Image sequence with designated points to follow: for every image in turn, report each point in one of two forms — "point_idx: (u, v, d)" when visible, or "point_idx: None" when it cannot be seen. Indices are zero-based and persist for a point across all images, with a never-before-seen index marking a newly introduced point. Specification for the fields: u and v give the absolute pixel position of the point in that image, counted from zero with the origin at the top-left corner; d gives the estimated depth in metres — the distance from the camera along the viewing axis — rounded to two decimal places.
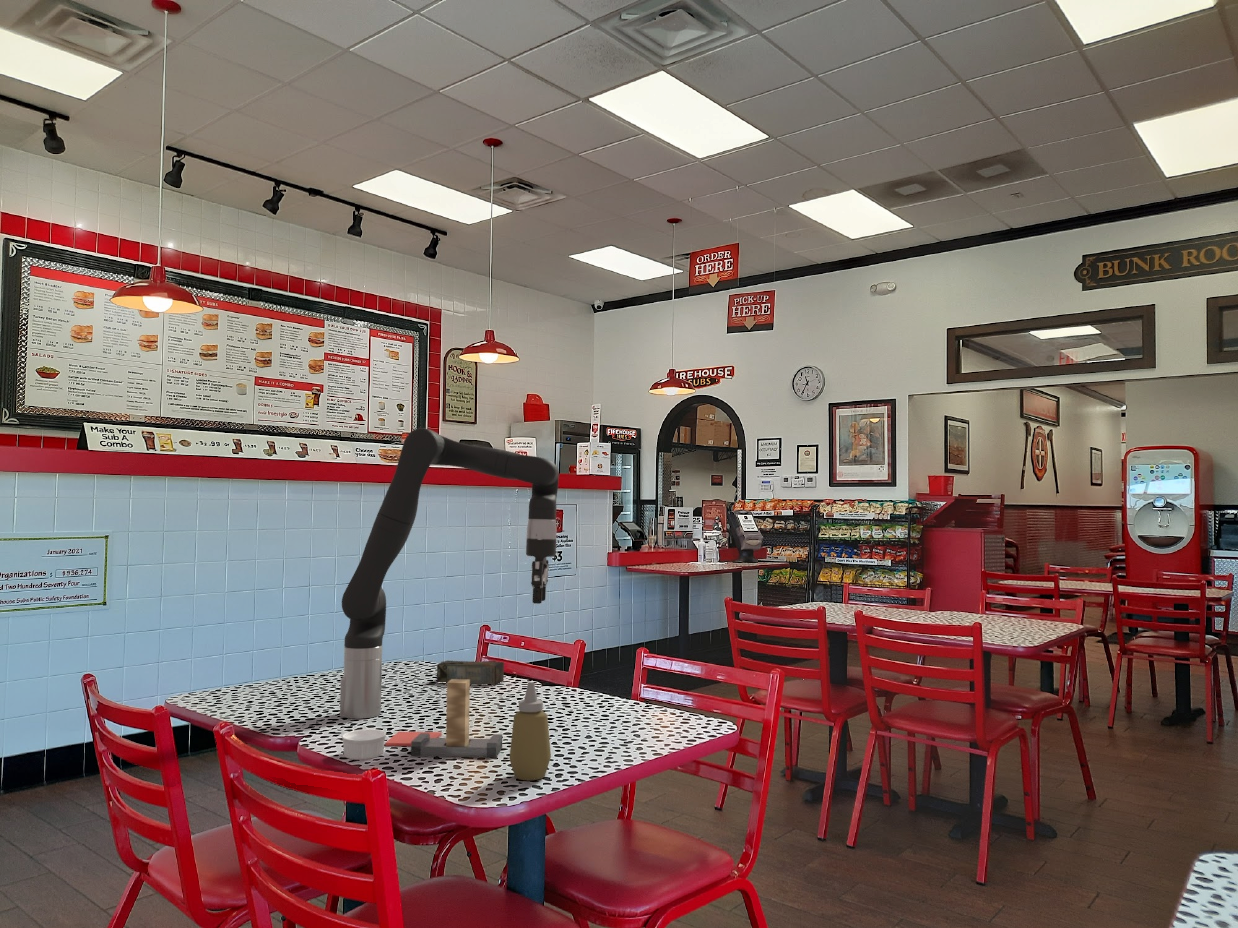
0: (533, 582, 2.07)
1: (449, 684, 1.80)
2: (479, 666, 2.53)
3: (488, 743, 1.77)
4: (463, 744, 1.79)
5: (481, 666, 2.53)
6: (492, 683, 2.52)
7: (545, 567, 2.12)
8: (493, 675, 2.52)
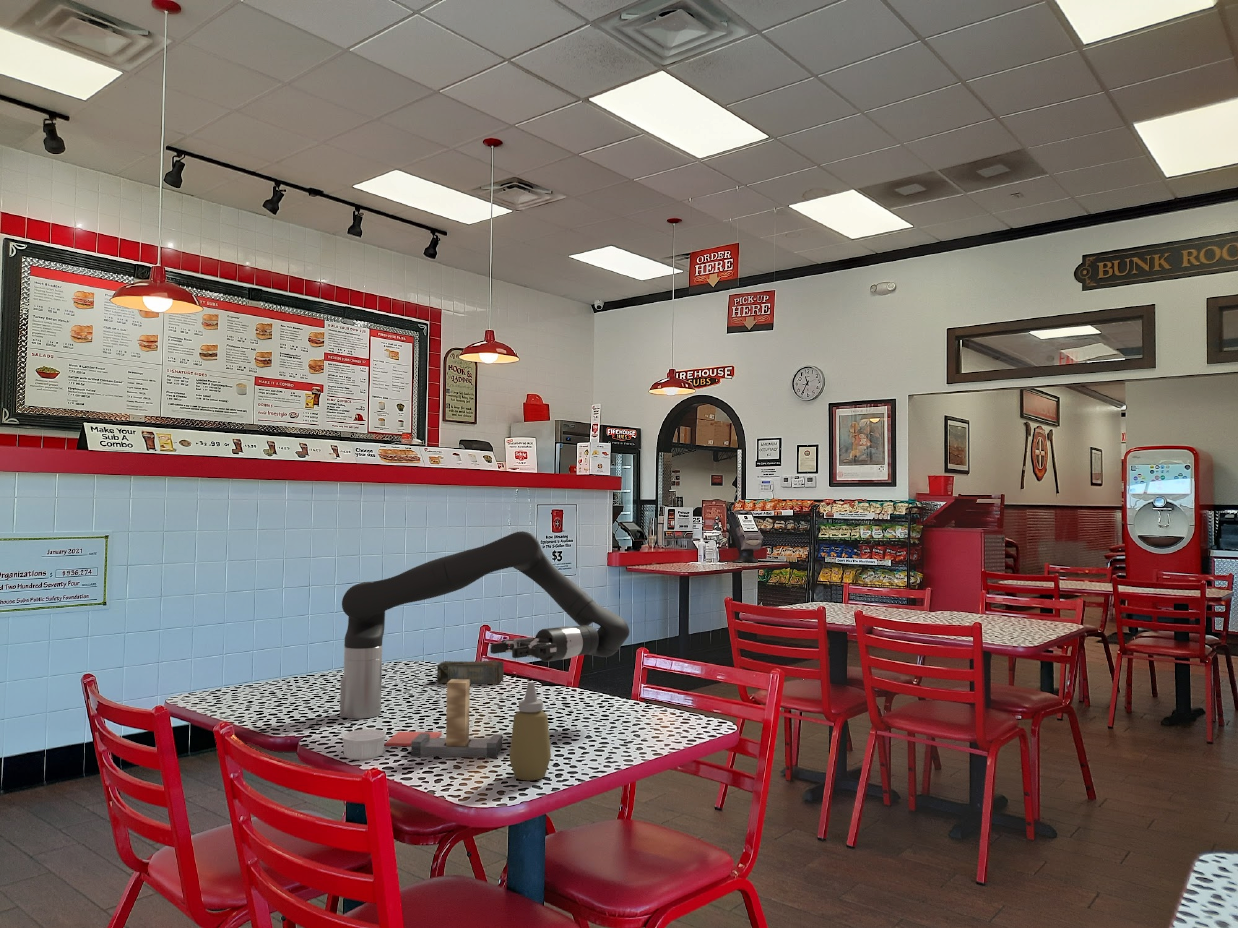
0: (539, 648, 1.88)
1: (449, 684, 1.80)
2: (481, 666, 2.54)
3: (488, 743, 1.77)
4: (463, 744, 1.79)
5: (483, 666, 2.54)
6: (495, 682, 2.53)
7: None
8: (496, 674, 2.53)
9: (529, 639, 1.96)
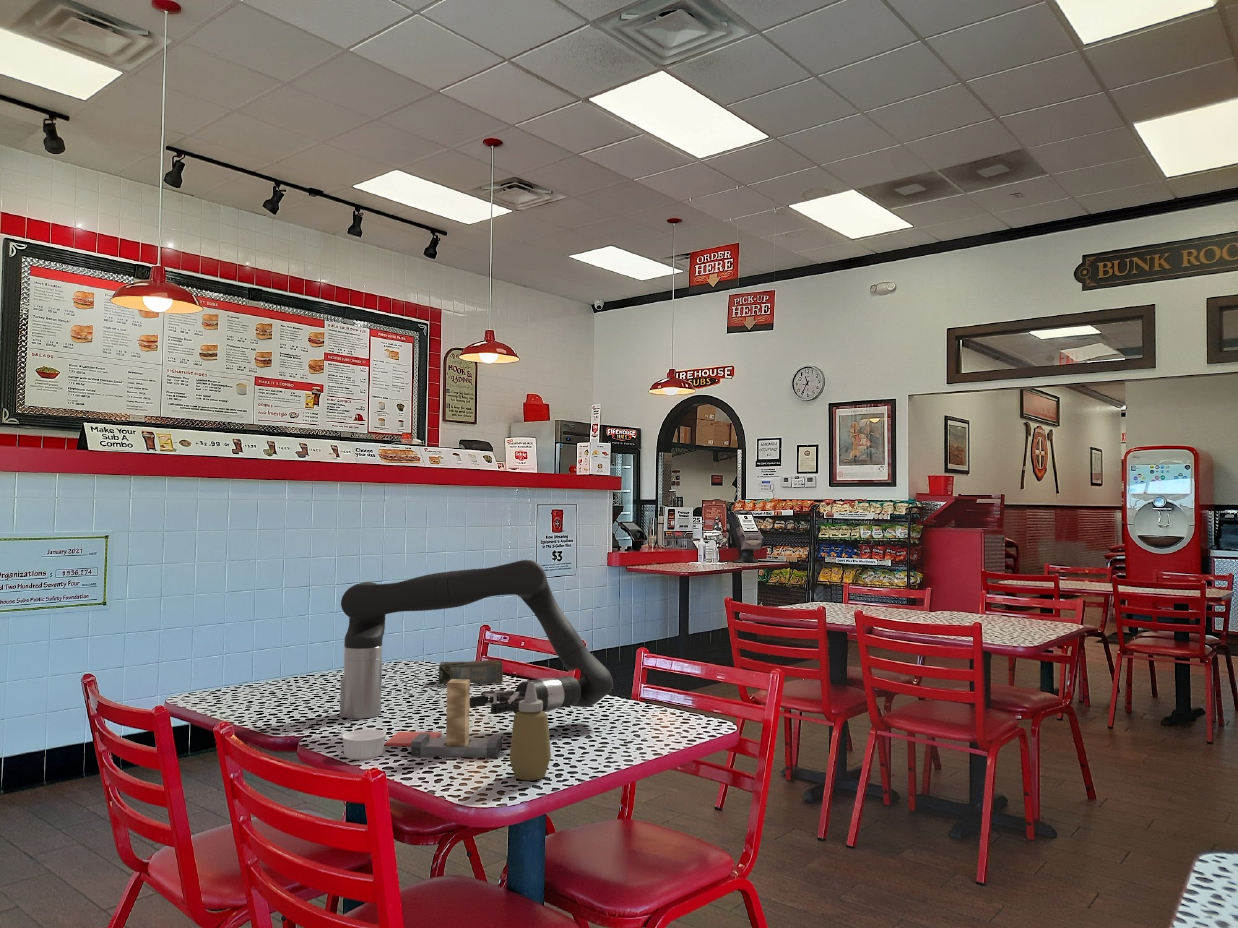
0: None
1: (449, 684, 1.80)
2: (484, 665, 2.55)
3: (488, 743, 1.77)
4: (463, 744, 1.79)
5: (486, 665, 2.55)
6: (498, 681, 2.55)
7: None
8: (499, 673, 2.55)
9: (509, 692, 1.92)
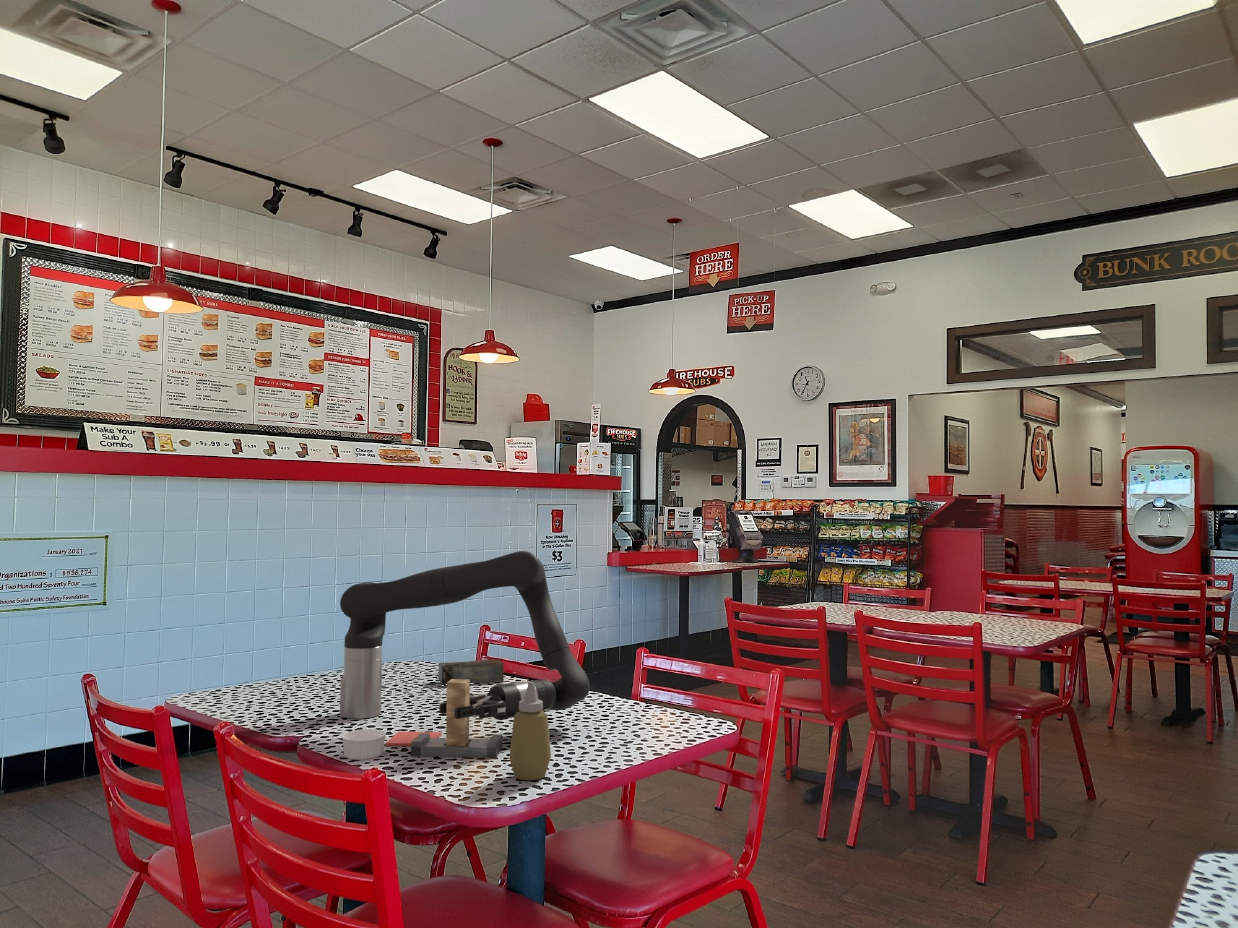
0: (483, 708, 1.79)
1: (449, 684, 1.80)
2: (487, 665, 2.56)
3: (488, 743, 1.77)
4: (463, 744, 1.79)
5: (489, 664, 2.56)
6: (500, 680, 2.57)
7: None
8: (501, 672, 2.57)
9: (481, 696, 1.87)
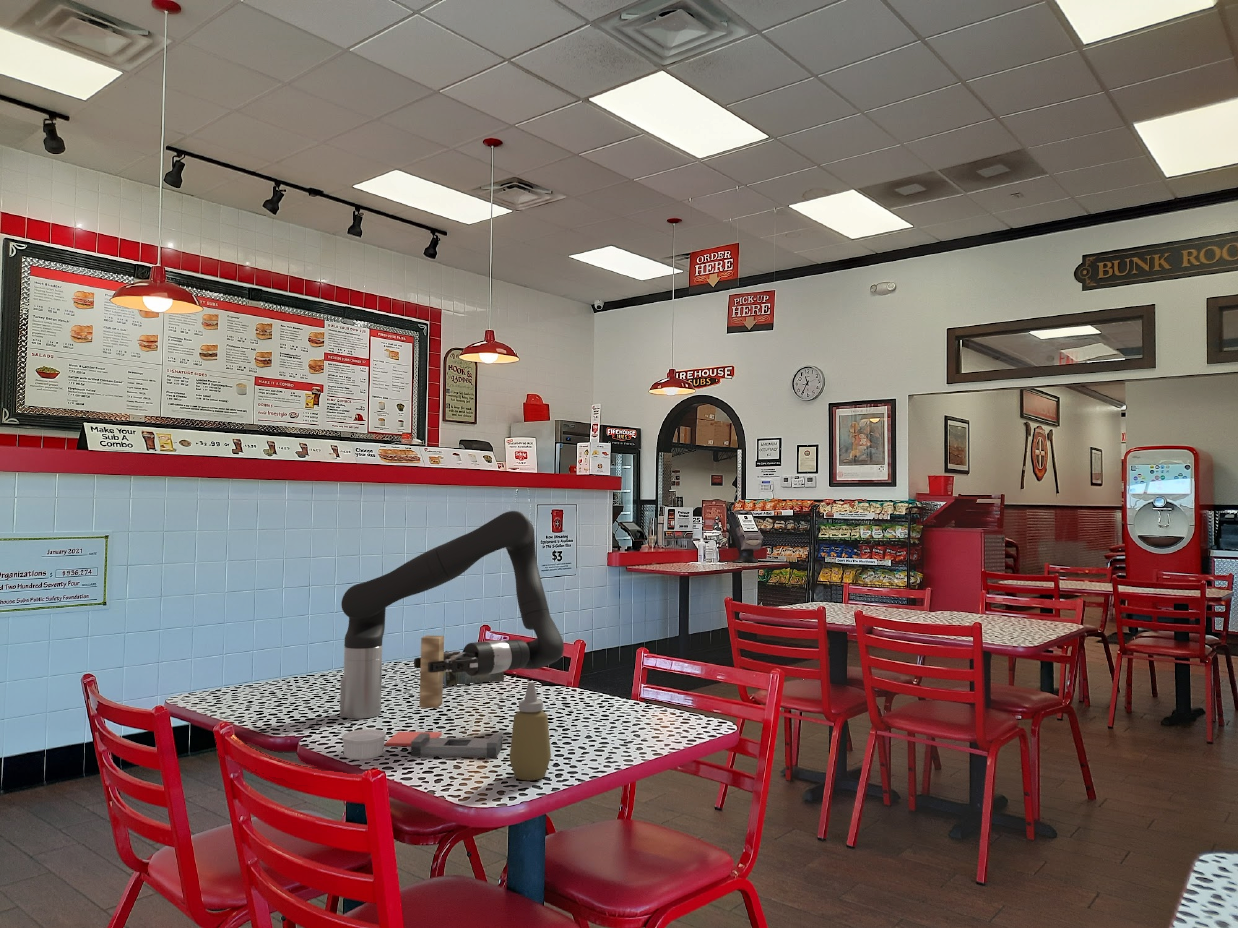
0: (456, 663, 1.84)
1: (423, 639, 1.85)
2: None
3: (488, 743, 1.77)
4: (436, 697, 1.85)
5: None
6: (501, 679, 2.59)
7: None
8: (502, 671, 2.59)
9: (456, 653, 1.92)
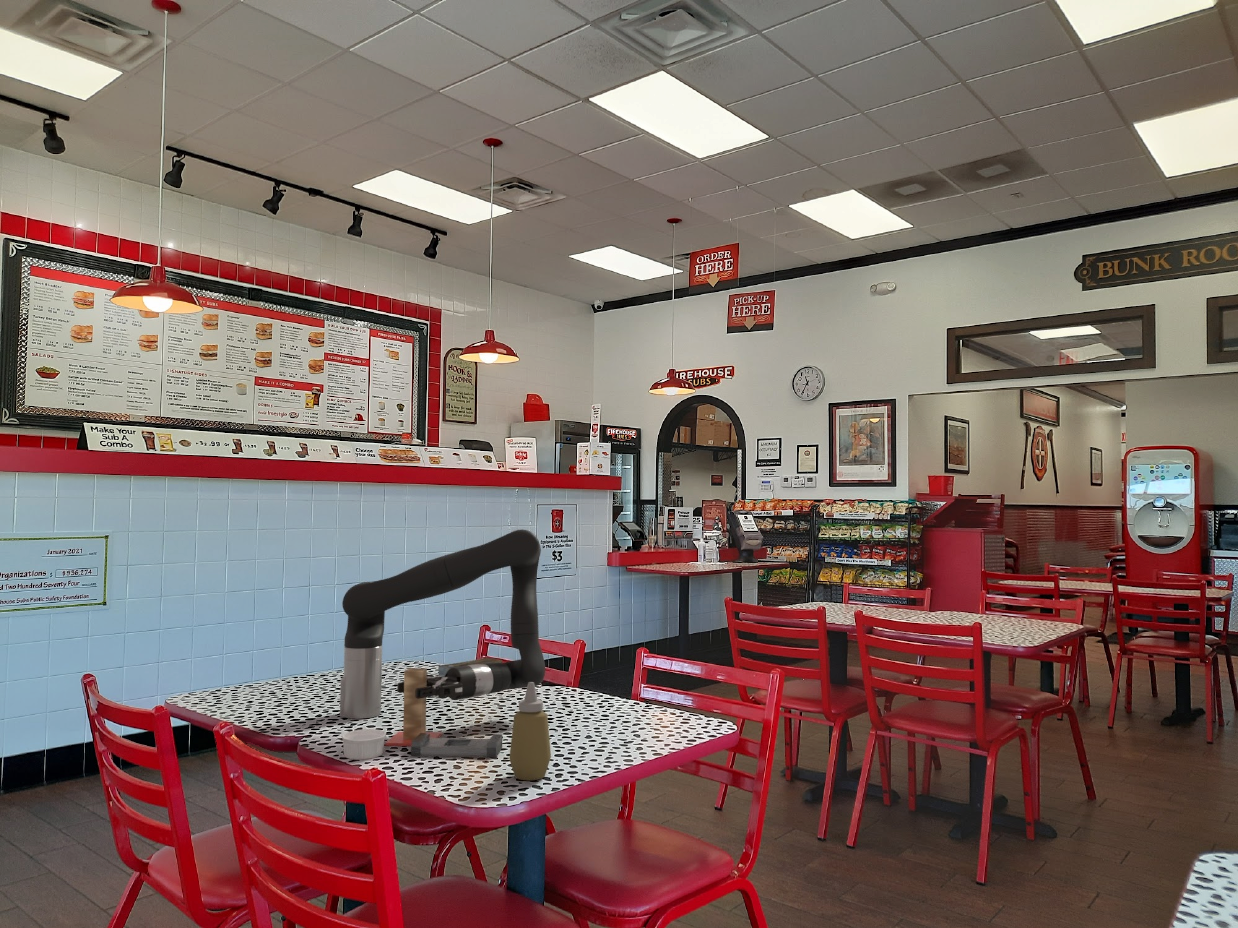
0: (443, 688, 1.88)
1: (406, 672, 1.90)
2: (489, 663, 2.58)
3: (488, 743, 1.77)
4: (419, 729, 1.89)
5: None
6: None
7: (446, 693, 1.94)
8: None
9: (437, 678, 1.96)
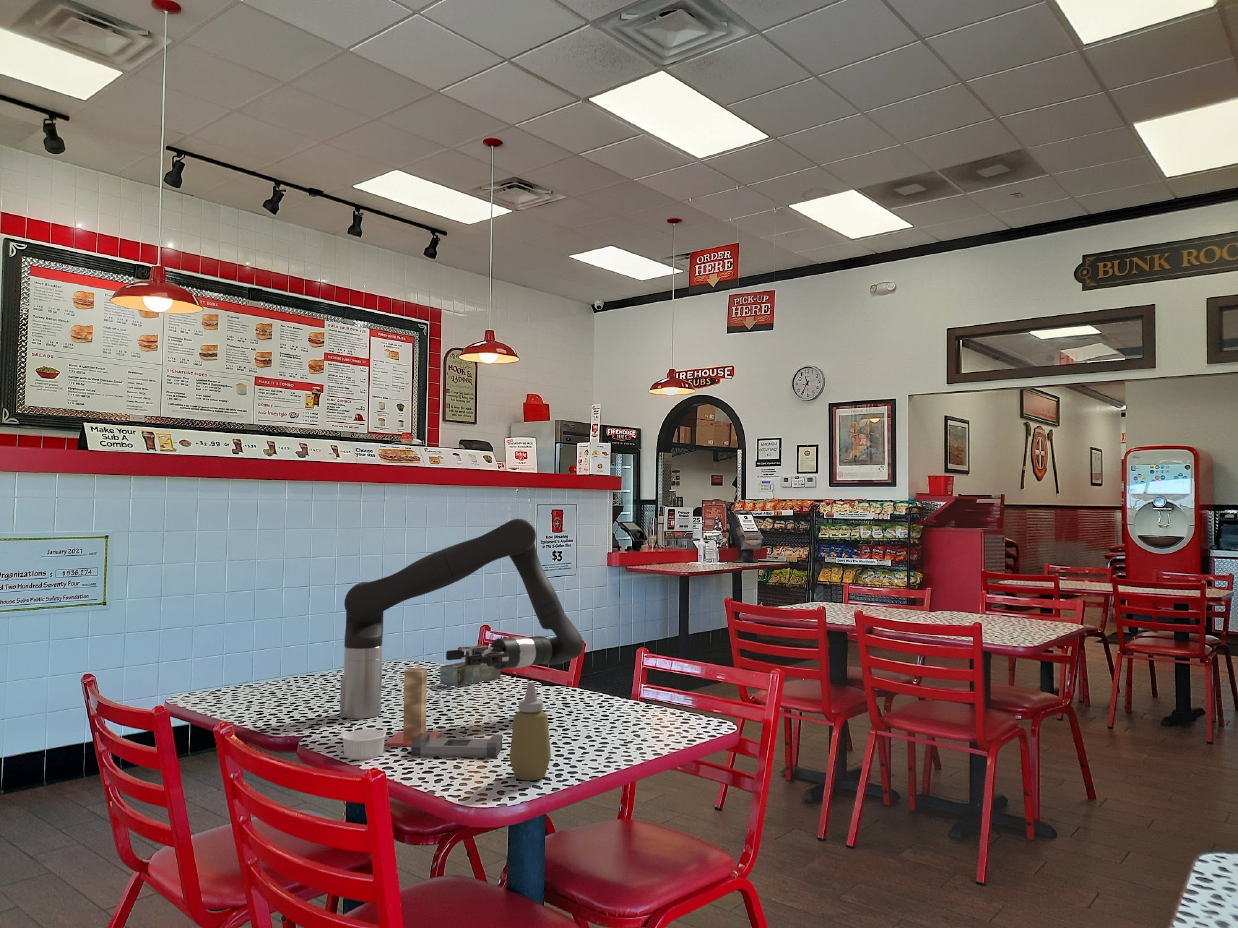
0: (491, 657, 1.98)
1: (406, 672, 1.90)
2: None
3: (488, 743, 1.77)
4: (419, 729, 1.89)
5: None
6: (498, 676, 2.63)
7: (492, 662, 2.03)
8: None
9: (484, 647, 2.06)
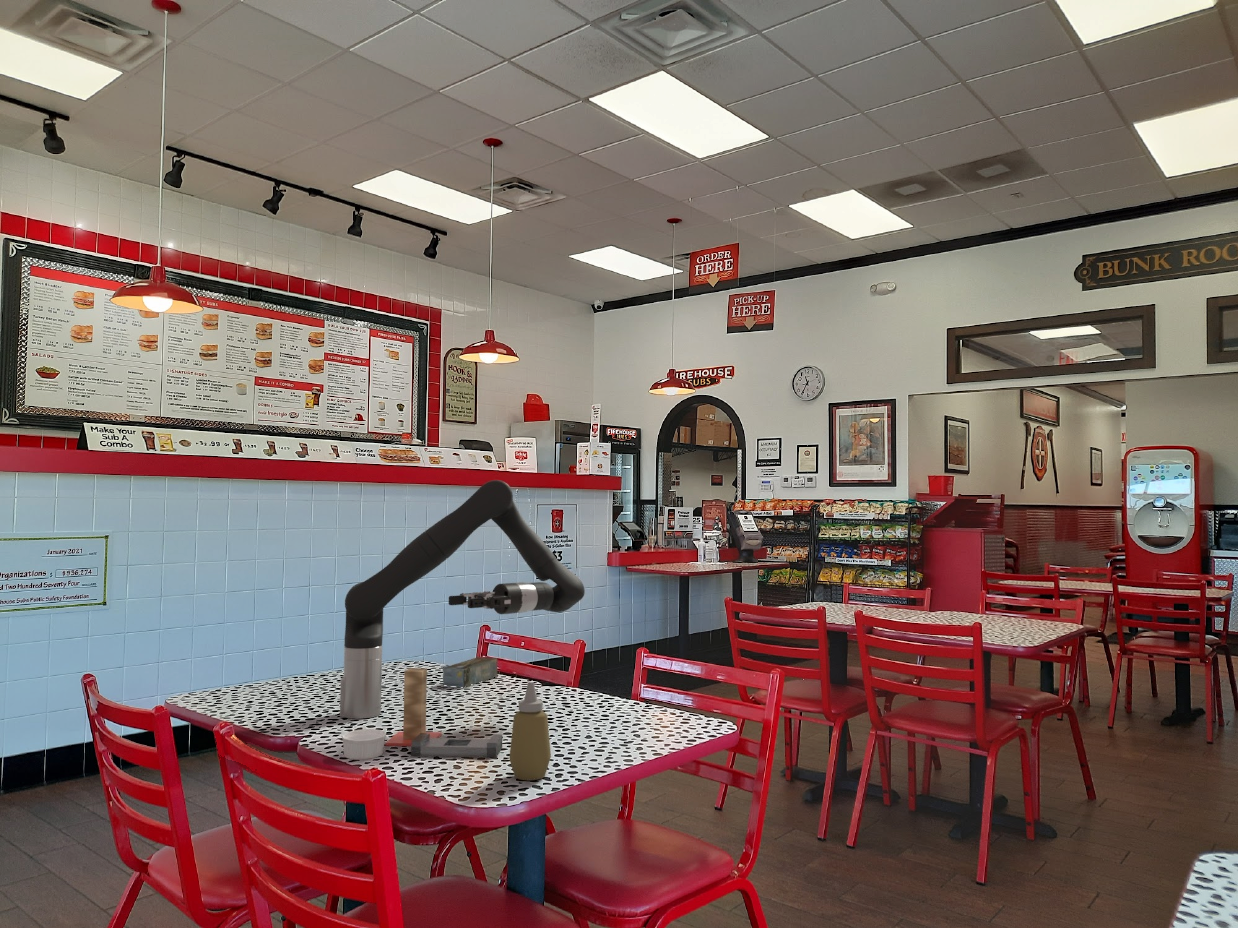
0: (494, 599, 1.99)
1: (406, 672, 1.90)
2: (488, 662, 2.61)
3: (488, 743, 1.77)
4: (419, 729, 1.89)
5: (489, 661, 2.61)
6: (496, 675, 2.64)
7: None
8: (496, 668, 2.64)
9: (486, 592, 2.07)
